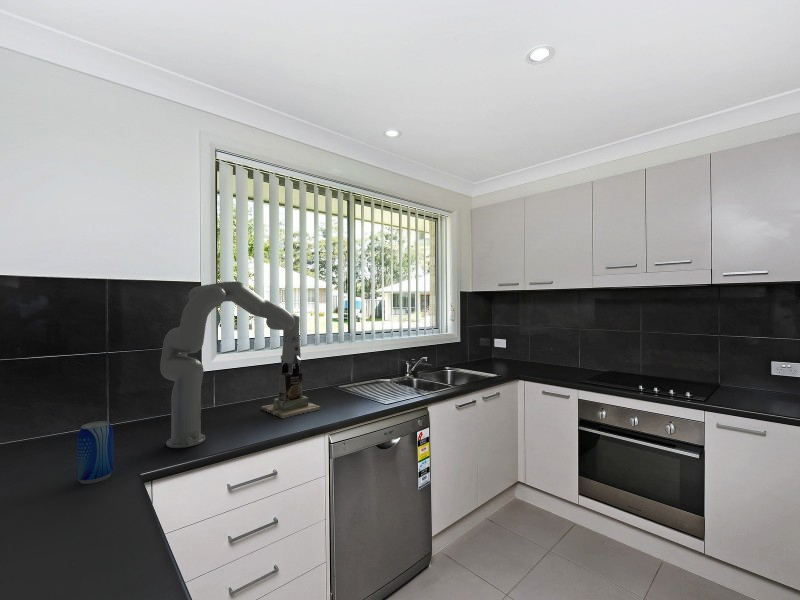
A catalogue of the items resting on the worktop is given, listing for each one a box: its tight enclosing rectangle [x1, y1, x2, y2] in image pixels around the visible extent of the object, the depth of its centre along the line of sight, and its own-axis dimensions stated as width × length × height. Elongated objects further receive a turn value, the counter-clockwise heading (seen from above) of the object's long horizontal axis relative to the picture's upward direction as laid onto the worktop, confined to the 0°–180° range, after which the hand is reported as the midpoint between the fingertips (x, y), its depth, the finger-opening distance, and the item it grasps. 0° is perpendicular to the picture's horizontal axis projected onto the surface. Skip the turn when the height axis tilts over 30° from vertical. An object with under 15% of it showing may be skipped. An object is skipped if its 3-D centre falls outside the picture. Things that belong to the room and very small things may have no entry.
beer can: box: [76, 420, 114, 485], centre depth 112 cm, size 8×8×16 cm
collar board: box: [261, 395, 321, 419], centre depth 182 cm, size 20×20×6 cm
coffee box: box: [278, 371, 303, 402], centre depth 182 cm, size 9×6×16 cm
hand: (290, 375), depth 182 cm, fingers open, 9 cm apart
